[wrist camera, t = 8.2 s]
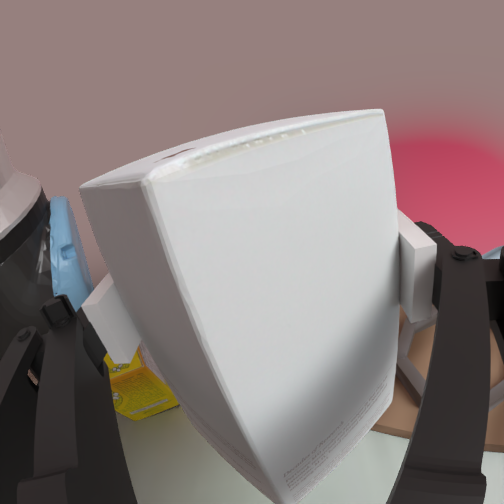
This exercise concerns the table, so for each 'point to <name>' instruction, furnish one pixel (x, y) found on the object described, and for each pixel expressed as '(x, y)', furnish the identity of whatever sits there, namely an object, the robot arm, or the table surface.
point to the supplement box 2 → (264, 286)
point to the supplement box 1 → (139, 386)
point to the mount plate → (407, 409)
